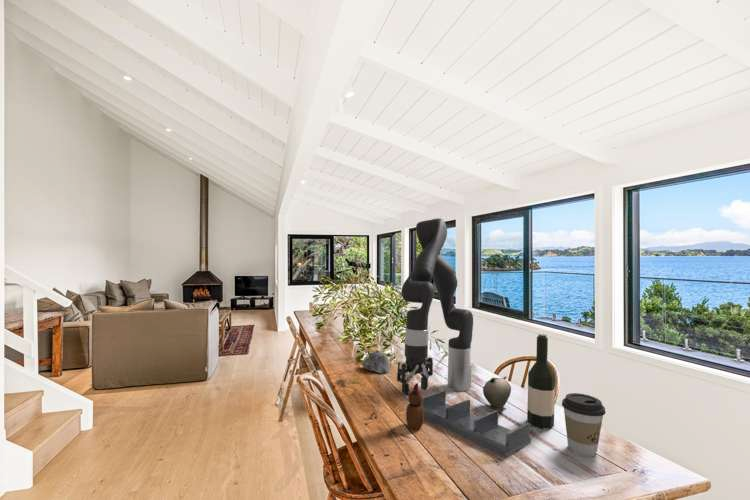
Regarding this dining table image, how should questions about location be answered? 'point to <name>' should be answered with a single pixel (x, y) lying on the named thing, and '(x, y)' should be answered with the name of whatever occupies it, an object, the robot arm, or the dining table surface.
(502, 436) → the grey shelf
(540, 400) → the wine bottle
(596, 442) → the coffee cup
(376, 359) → the mineral rock
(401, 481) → the dining table surface
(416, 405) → the wooden figurine
